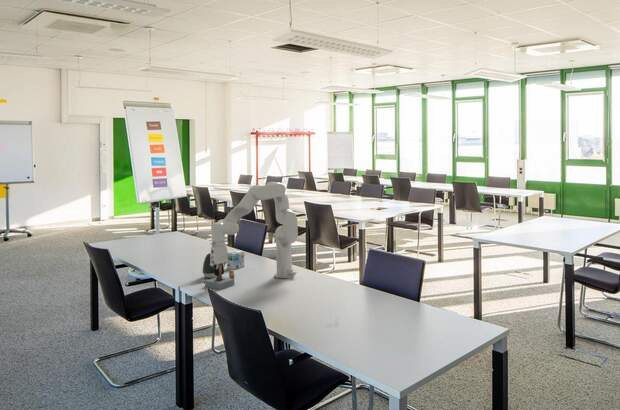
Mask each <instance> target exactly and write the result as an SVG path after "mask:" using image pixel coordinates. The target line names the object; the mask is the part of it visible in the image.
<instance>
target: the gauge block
mask: <svg viewBox="0 0 620 410" xmlns="http://www.w3.org/2000/svg"><path fill="white" fill-rule="evenodd" d="M233 286H235V278H234V279H231V278H229V277H226V276H222V280H219V281H218V280H216V277H215V278H208V279H206V280H204V288H209V289H214V290H219V291H220V290H224V289H226V288H229V287H233Z"/></svg>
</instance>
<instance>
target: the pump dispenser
mask: <svg viewBox="0 0 620 410" xmlns="http://www.w3.org/2000/svg"><path fill="white" fill-rule="evenodd" d="M210 253H211V252H209V253H207V254H206V256H205V258H204V261H203V263H202V264H203V265H202V274H203V277H205V278H207V279H212V278H216V275H214V268H213V267H212V266H210V262H211V261H210Z"/></svg>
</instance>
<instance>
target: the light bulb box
mask: <svg viewBox="0 0 620 410" xmlns="http://www.w3.org/2000/svg"><path fill="white" fill-rule="evenodd" d="M227 254H228V262H227V263H226V268H227V269H229V270H236V269H240V268H244V267H245V251H244V250H239V249H236V250H232V251H227Z"/></svg>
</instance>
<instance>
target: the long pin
mask: <svg viewBox="0 0 620 410" xmlns="http://www.w3.org/2000/svg"><path fill="white" fill-rule="evenodd" d="M218 269H219V276H216V277H215V278H216V280H218V281H219V280H222V277H223V274H222V263H221V264H218Z"/></svg>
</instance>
